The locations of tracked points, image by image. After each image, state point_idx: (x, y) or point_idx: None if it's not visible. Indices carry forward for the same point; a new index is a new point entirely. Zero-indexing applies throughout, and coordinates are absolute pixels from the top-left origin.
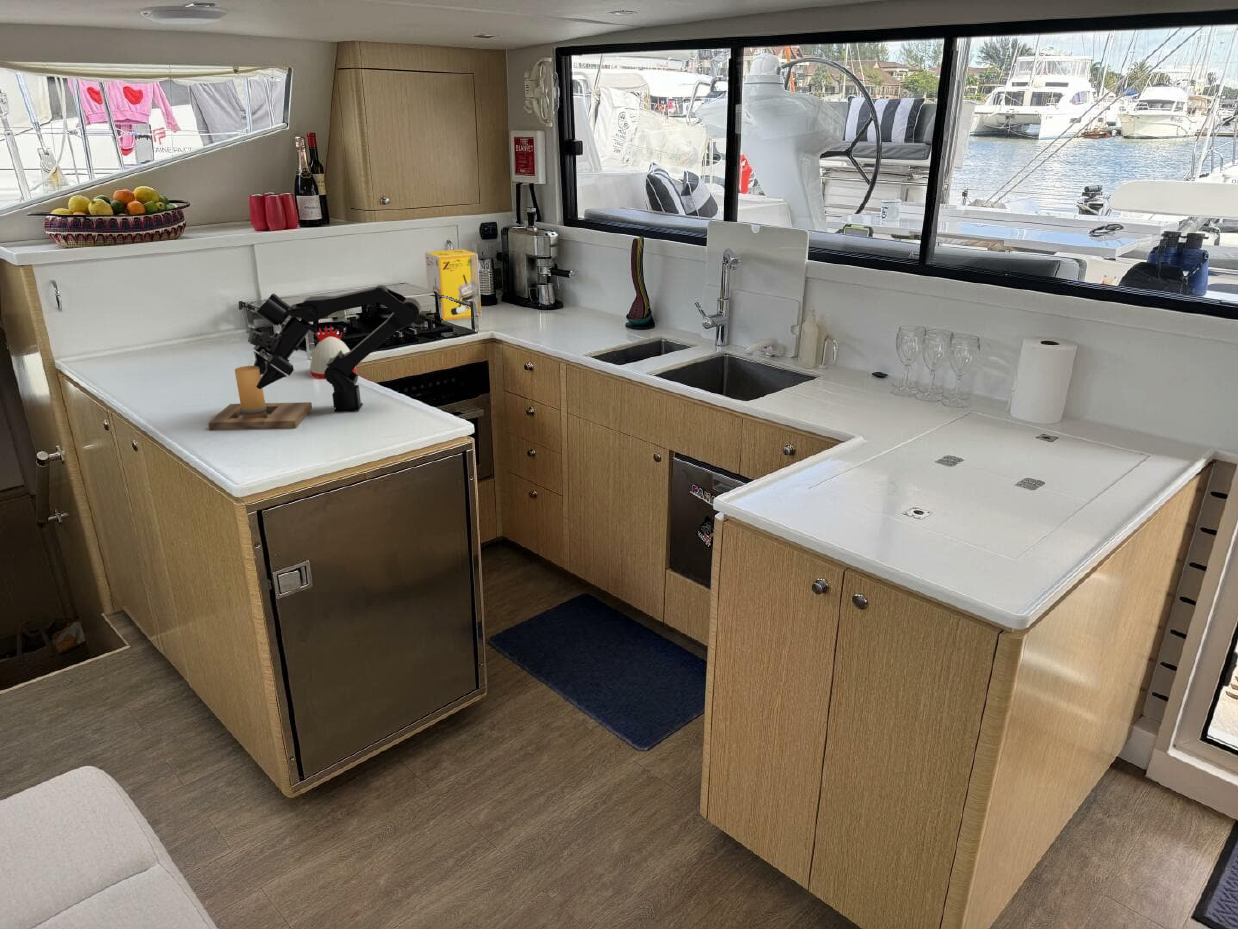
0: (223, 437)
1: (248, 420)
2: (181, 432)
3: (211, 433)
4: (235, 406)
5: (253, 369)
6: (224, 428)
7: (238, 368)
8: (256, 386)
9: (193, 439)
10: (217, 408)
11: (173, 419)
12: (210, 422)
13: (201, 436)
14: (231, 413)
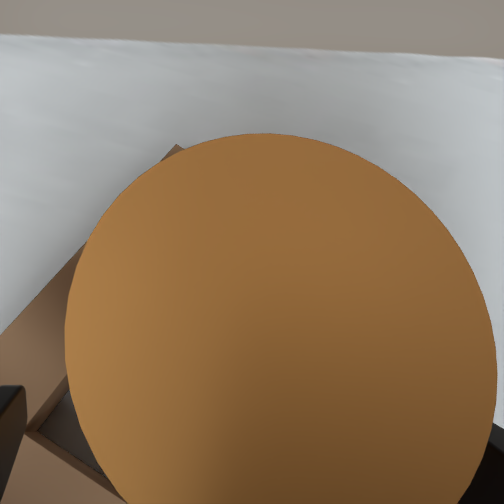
0: (10, 178)
1: (57, 309)
2: (214, 88)
3: (117, 158)
4: None
5: (172, 405)
6: None
7: (392, 208)
8: (11, 385)
9: (87, 88)
10: (478, 277)
11: (394, 116)
12: (170, 151)
13: (105, 119)
14: None
